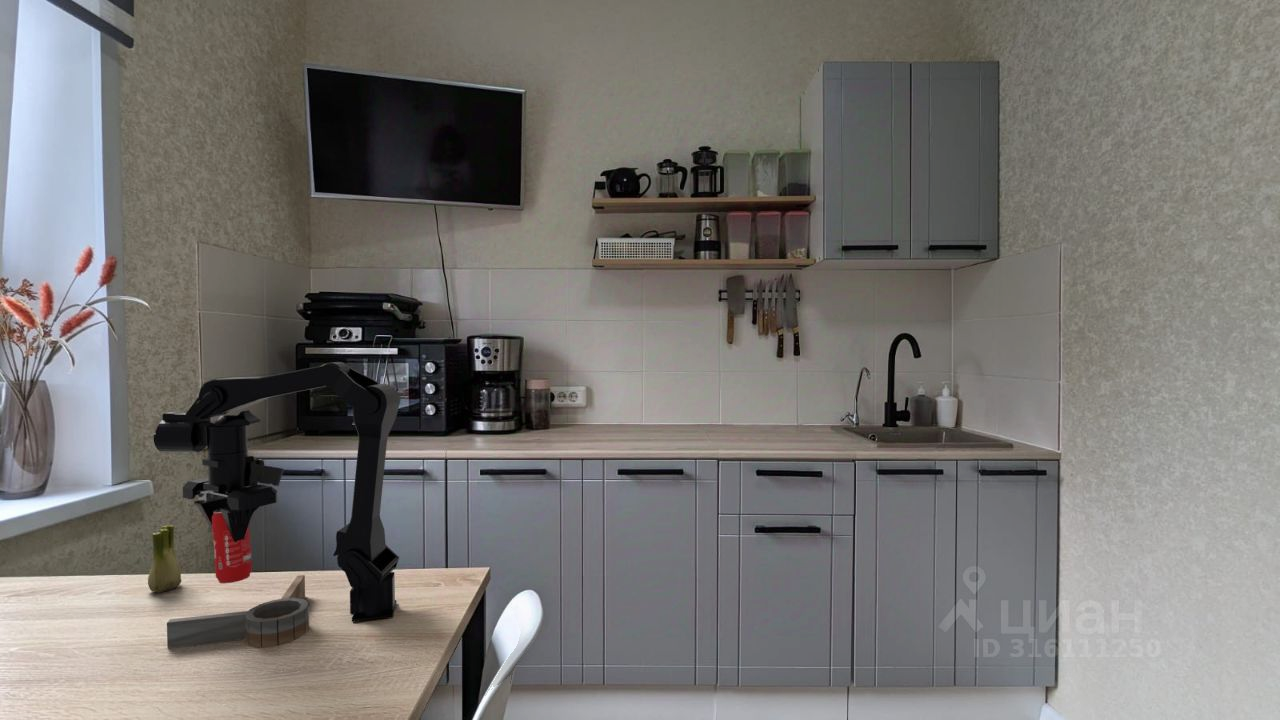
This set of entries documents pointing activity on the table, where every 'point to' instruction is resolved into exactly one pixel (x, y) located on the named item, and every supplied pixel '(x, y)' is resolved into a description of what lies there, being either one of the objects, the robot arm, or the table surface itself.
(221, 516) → the beverage can
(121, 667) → the table surface
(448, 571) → the table surface
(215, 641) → the grey ring bracket
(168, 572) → the fennel bulb
